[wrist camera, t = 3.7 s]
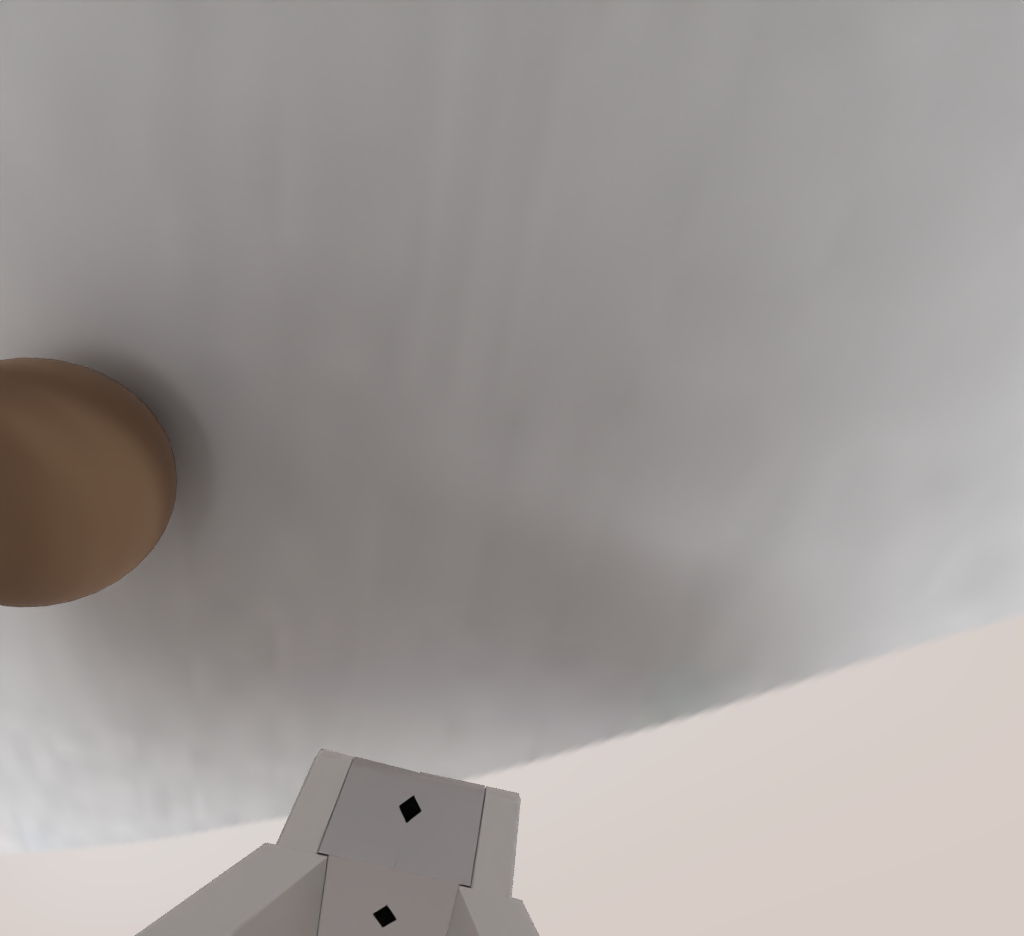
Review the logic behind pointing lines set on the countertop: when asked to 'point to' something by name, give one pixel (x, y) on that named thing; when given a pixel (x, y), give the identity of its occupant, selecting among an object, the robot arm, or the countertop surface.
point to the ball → (76, 481)
